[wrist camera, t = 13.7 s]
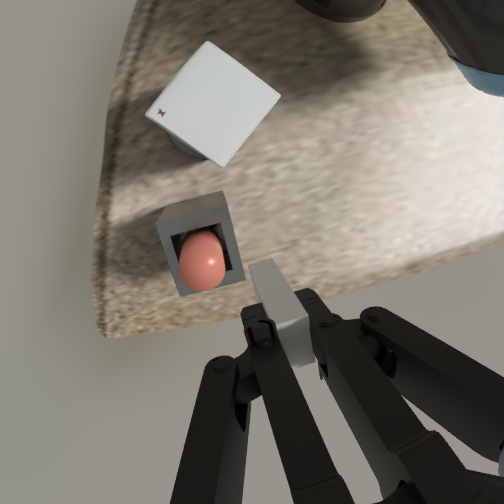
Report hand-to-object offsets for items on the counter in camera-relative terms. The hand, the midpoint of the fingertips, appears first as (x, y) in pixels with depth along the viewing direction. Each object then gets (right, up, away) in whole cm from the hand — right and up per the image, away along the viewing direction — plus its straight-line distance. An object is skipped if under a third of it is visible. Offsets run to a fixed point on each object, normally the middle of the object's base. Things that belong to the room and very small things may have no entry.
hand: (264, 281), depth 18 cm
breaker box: (-7, +5, +18) cm, 20 cm away
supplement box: (-5, +17, +13) cm, 22 cm away
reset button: (-6, +3, +13) cm, 15 cm away
